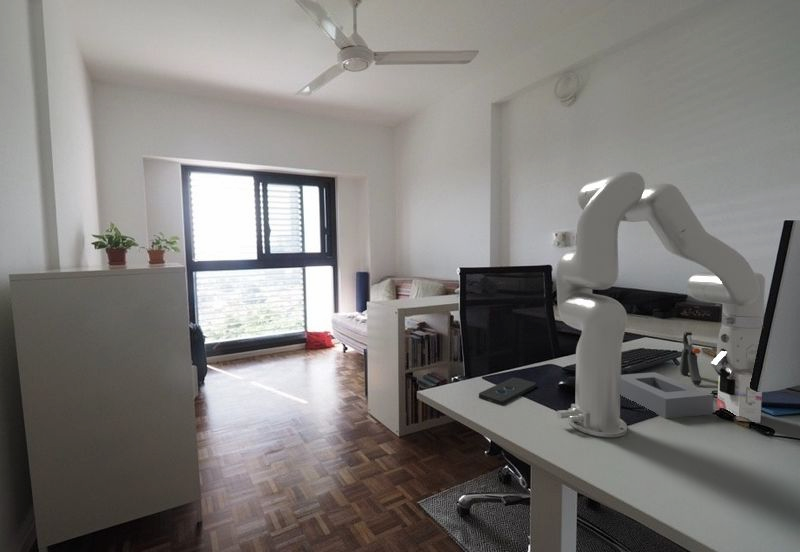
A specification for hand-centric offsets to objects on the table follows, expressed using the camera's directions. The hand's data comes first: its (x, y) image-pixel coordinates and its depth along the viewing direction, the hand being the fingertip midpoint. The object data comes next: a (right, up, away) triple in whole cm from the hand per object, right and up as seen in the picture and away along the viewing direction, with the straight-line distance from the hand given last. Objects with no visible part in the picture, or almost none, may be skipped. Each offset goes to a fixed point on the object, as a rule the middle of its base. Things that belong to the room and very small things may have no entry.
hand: (738, 391), depth 93 cm
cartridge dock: (-14, -6, +9) cm, 17 cm away
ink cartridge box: (0, -6, 0) cm, 6 cm away
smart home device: (-53, -7, +19) cm, 56 cm away
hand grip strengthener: (+8, -5, +26) cm, 28 cm away
